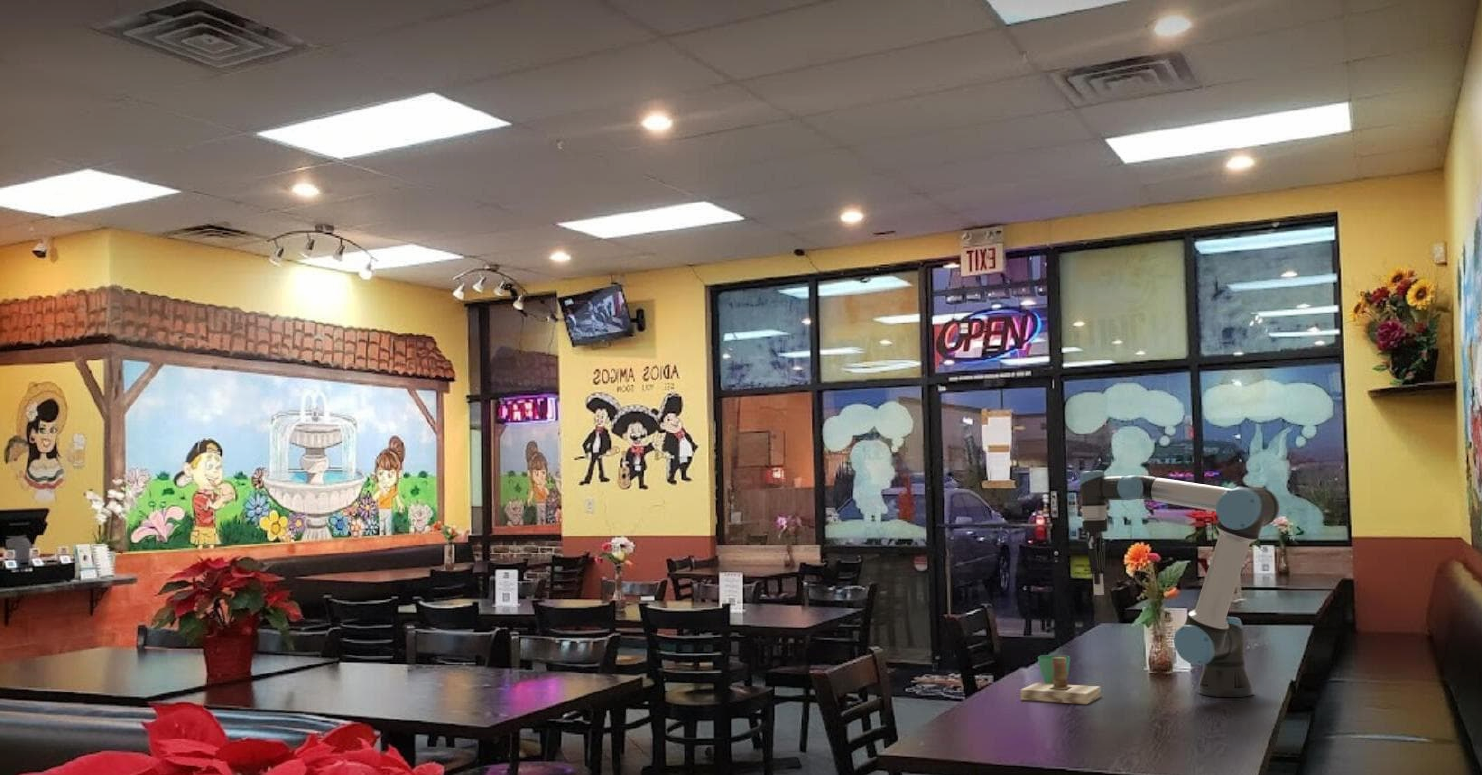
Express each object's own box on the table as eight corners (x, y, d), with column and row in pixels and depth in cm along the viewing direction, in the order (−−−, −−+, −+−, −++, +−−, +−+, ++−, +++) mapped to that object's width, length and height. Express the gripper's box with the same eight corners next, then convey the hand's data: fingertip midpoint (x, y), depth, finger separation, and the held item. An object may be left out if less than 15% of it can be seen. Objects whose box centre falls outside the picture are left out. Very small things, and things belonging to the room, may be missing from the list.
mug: (1066, 692, 372) (1065, 659, 373) (1035, 690, 377) (1034, 658, 378) (1079, 684, 385) (1077, 653, 386) (1049, 683, 390) (1047, 652, 391)
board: (1101, 696, 362) (1100, 686, 363) (1087, 704, 351) (1086, 693, 351) (1036, 692, 373) (1036, 682, 374) (1021, 699, 362) (1020, 689, 362)
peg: (1070, 697, 363) (1067, 657, 364) (1065, 699, 359) (1063, 658, 360) (1056, 696, 365) (1054, 656, 366) (1052, 698, 361) (1049, 658, 363)
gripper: (1088, 518, 388) (1093, 592, 386) (1076, 520, 377) (1080, 596, 375) (1112, 518, 384) (1116, 592, 382) (1100, 519, 373) (1105, 596, 371)
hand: (1098, 594), depth 378 cm, fingers closed
